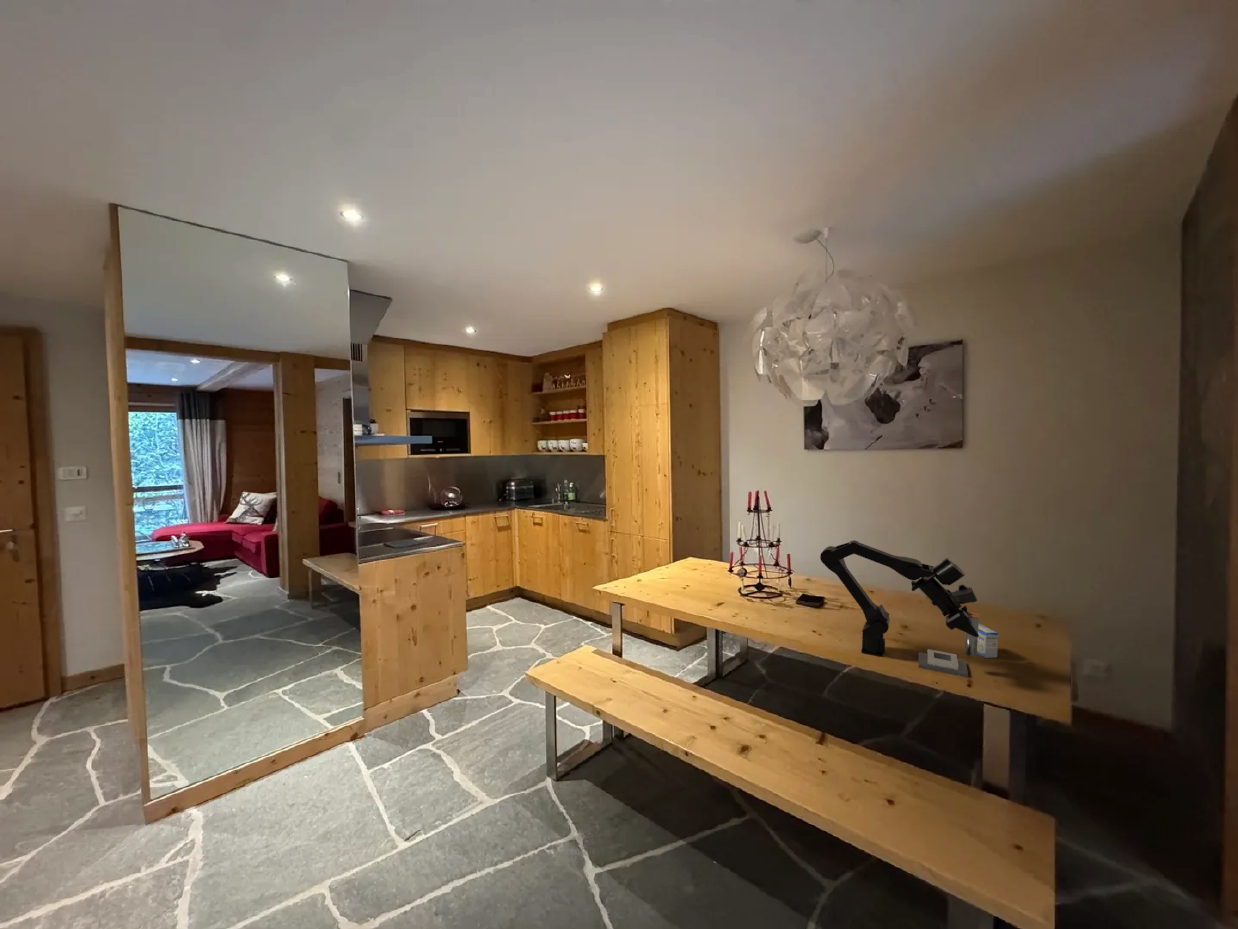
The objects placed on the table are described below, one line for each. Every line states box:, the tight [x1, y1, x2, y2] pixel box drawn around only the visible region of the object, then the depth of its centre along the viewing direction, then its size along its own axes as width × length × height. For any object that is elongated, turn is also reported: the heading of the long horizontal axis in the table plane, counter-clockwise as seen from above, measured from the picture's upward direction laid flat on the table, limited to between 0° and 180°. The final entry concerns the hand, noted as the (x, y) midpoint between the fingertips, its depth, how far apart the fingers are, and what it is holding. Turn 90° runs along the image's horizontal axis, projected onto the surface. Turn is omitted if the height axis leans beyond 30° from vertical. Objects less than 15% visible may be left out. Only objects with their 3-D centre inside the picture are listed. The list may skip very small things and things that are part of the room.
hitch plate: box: [917, 648, 969, 678], centre depth 160 cm, size 13×10×3 cm
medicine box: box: [977, 623, 999, 659], centre depth 168 cm, size 8×4×9 cm, turn 4°
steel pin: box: [963, 611, 980, 657], centre depth 155 cm, size 3×3×13 cm
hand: (977, 634), depth 154 cm, fingers closed on steel pin, 3 cm apart
